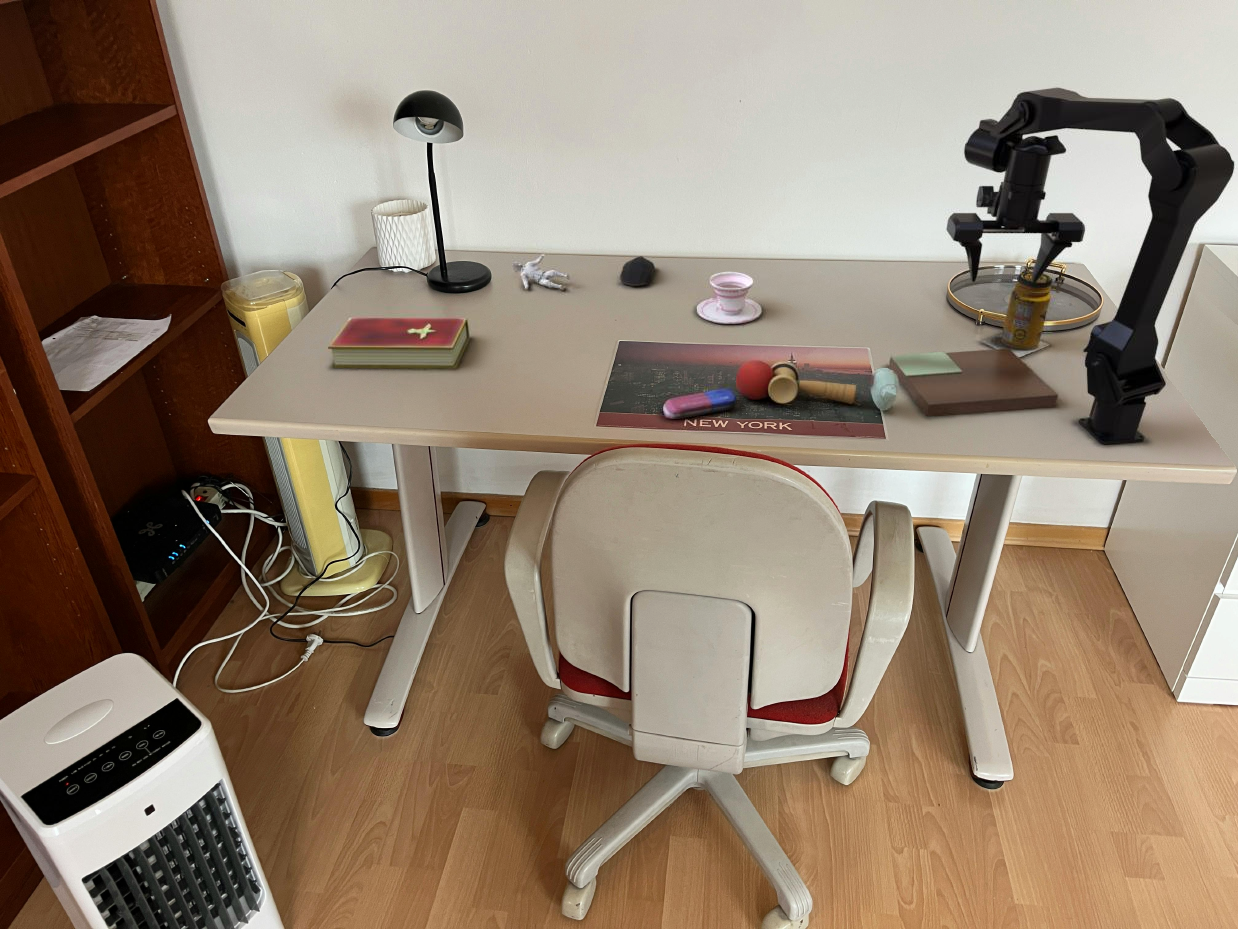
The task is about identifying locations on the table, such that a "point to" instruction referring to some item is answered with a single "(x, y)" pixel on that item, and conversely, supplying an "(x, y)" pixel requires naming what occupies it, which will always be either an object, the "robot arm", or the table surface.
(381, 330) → the hardcover book
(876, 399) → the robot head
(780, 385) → the kendama
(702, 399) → the eraser
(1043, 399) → the walnut board
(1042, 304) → the condiment
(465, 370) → the table surface
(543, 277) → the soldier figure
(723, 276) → the teacup
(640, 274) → the gaming mouse
